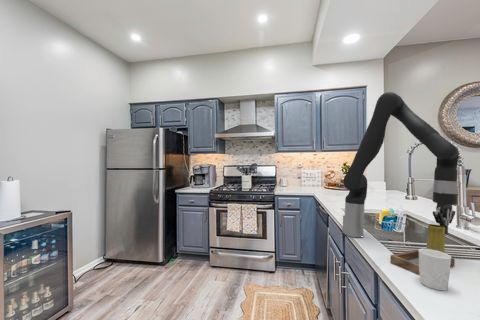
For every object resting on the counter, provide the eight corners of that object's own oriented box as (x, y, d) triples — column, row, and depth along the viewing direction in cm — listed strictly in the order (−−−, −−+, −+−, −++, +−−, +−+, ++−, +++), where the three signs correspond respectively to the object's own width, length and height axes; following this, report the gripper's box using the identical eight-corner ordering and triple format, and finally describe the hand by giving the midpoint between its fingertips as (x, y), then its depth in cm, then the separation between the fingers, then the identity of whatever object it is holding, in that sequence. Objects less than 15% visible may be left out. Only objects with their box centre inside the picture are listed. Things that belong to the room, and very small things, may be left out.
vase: (449, 265, 87) (450, 228, 87) (431, 263, 88) (432, 227, 89) (438, 259, 93) (440, 224, 93) (421, 257, 94) (423, 223, 95)
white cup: (411, 277, 76) (412, 247, 76) (435, 279, 76) (436, 249, 76) (430, 291, 68) (431, 257, 68) (457, 292, 68) (458, 259, 68)
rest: (390, 262, 87) (390, 255, 87) (421, 255, 96) (422, 248, 96) (422, 276, 78) (422, 267, 78) (454, 266, 86) (454, 258, 87)
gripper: (442, 190, 100) (440, 230, 100) (425, 190, 94) (423, 232, 94) (464, 192, 93) (463, 235, 93) (448, 193, 87) (446, 238, 87)
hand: (443, 233), depth 93 cm, fingers closed
